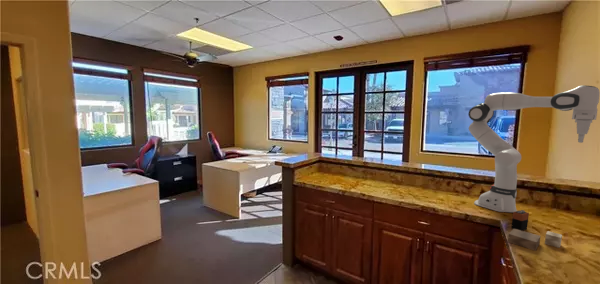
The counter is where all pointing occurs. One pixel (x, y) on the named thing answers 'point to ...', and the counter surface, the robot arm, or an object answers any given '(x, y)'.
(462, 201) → the counter surface
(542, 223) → the counter surface
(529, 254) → the counter surface
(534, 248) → the walnut block
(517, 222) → the battery
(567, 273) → the counter surface
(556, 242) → the maple cube
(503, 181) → the robot arm
